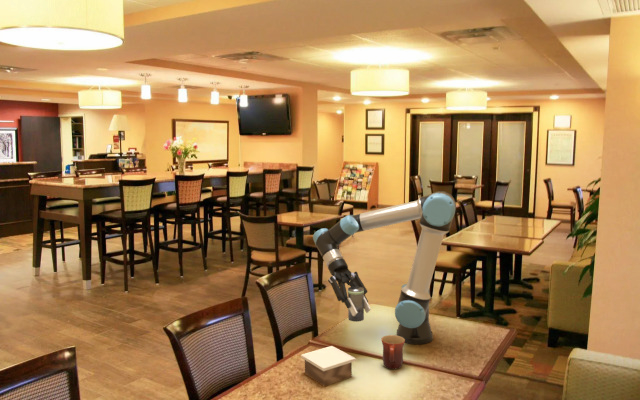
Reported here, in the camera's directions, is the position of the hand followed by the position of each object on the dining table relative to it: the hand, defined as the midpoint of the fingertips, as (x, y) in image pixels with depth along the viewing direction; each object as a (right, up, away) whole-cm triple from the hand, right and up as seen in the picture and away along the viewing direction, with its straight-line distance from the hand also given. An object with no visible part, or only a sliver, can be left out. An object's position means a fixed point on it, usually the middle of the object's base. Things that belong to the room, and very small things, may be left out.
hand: (362, 312), depth 196 cm
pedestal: (-13, -20, -12) cm, 27 cm away
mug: (+11, -19, -6) cm, 23 cm away
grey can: (-2, -3, +3) cm, 5 cm away
